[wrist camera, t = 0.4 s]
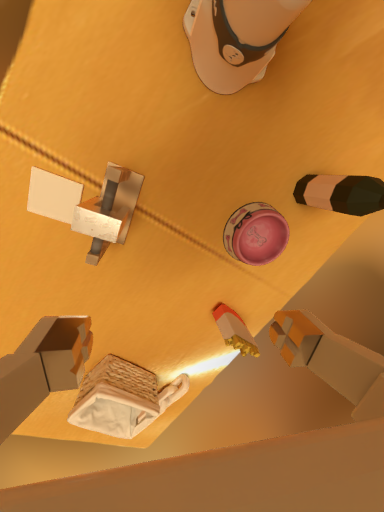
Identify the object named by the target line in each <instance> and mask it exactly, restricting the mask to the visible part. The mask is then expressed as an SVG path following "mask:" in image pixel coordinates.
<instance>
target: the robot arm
mask: <svg viewBox="0 0 384 512" xmlns="http://www.w3.org/2000/svg"><path fill="white" fill-rule="evenodd" d="M311 1H312V0H192V1H191V3H190V5H189V7H188V9H187V11H186V13H185V15H184V18H183V28H184V30H185V33H186V35H187V37H188V39H189V41H190V46H191V52H192V59H193V63H194V66H195V69H196V72H197V74H198V76H199V77H200V79H201V80H202V82H203V83H204V84H205V85H206V86H207V87H208V88H209V89H211V90H212V91H214V92H216V93H219V94H232V93H235V92H237V91H239V90H240V89H242V88H243V87H244V86H246V85H247V84H249V83H255V82H258V81H260V80H261V79H262V78H263V77H264V75H265V71H266V68H267V64H268V63H269V61H270V60H271V59H272V58H273V57H274V55H275V48H276V45H277V44H278V42H279V41H280V40H281V38H282V37H283V35H284V34H285V33H286V31H287V29H288V28H289V26H290V24H291V23H292V22H293V21H294V20H295V19H296V17H297V16H298V15H299V14H300V13H301V12H302V11H303V10H304V9H305V8H306V7H307V6H308V5H309V3H310V2H311ZM192 13H193V14H194V15H195V17H192V16H191V14H192ZM273 318H274V320H275V321H274V322H273V323H272V324H271V326H270V329H269V335H270V339H271V341H272V342H273V344H274V345H275V346H276V347H277V348H279V349H280V354H281V355H282V357H283V358H284V360H285V361H286V363H287V364H288V365H289V367H302V366H307V368H308V369H310V370H311V371H312V372H313V373H315V374H316V375H317V376H319V377H320V378H321V379H322V380H324V381H325V382H326V383H327V384H329V385H330V386H331V387H333V388H334V389H335V390H336V391H338V392H339V393H340V394H341V395H343V396H344V397H345V398H347V399H348V400H349V401H350V402H352V403H353V404H354V405H356V408H355V409H354V410H353V412H352V418H353V419H354V421H355V423H350V424H345V425H340V426H334V427H329V428H324V429H318V430H313V431H308V432H302V433H297V434H292V435H286V436H281V437H276V438H270V439H265V440H260V441H255V442H249V443H244V444H239V445H234V446H228V447H223V448H218V449H212V450H207V451H201V452H197V453H191V454H185V455H181V456H175V457H170V458H164V459H159V460H154V461H148V462H143V463H138V464H133V465H128V466H122V467H117V468H112V469H106V470H101V471H96V472H90V473H85V474H80V475H75V476H69V477H64V478H59V479H54V480H48V481H43V482H37V483H32V484H27V485H22V486H16V487H11V488H6V489H0V512H384V356H382V355H380V354H378V353H376V352H374V351H372V350H370V349H368V348H366V347H364V346H362V345H360V344H358V343H356V342H354V341H352V340H350V339H347V338H345V337H343V336H341V335H339V334H335V333H334V332H332V331H331V330H330V329H329V328H328V327H327V326H326V325H325V324H323V323H322V322H321V321H320V320H319V319H318V318H317V317H315V316H314V315H313V314H312V313H311V312H310V311H308V310H306V309H305V310H287V311H277V312H276V313H275V315H274V317H273ZM90 327H91V317H90V316H45V317H43V318H41V319H40V320H39V322H38V323H37V324H36V325H35V327H34V328H33V329H32V331H31V332H30V333H29V334H28V336H27V337H26V338H25V339H24V341H23V342H22V343H21V345H20V346H19V347H18V348H17V350H16V351H15V352H14V354H7V355H6V356H4V357H2V358H1V359H0V445H1V444H2V443H3V442H4V441H5V439H6V438H7V437H8V436H9V435H10V434H11V433H12V432H13V431H14V430H15V429H16V428H17V427H18V426H19V425H20V424H21V423H22V422H23V421H24V420H25V419H26V418H27V417H28V416H29V415H30V414H31V413H32V412H33V411H34V410H35V409H36V408H37V407H38V406H39V404H40V403H41V402H42V401H43V400H44V399H45V398H46V397H47V396H48V395H49V394H50V393H49V392H56V391H64V390H72V389H78V388H79V385H80V383H81V380H82V377H83V374H84V371H85V367H84V363H85V362H86V361H87V360H88V359H89V357H90V354H91V350H92V345H93V333H92V332H91V331H90V330H89V329H90Z"/></svg>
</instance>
